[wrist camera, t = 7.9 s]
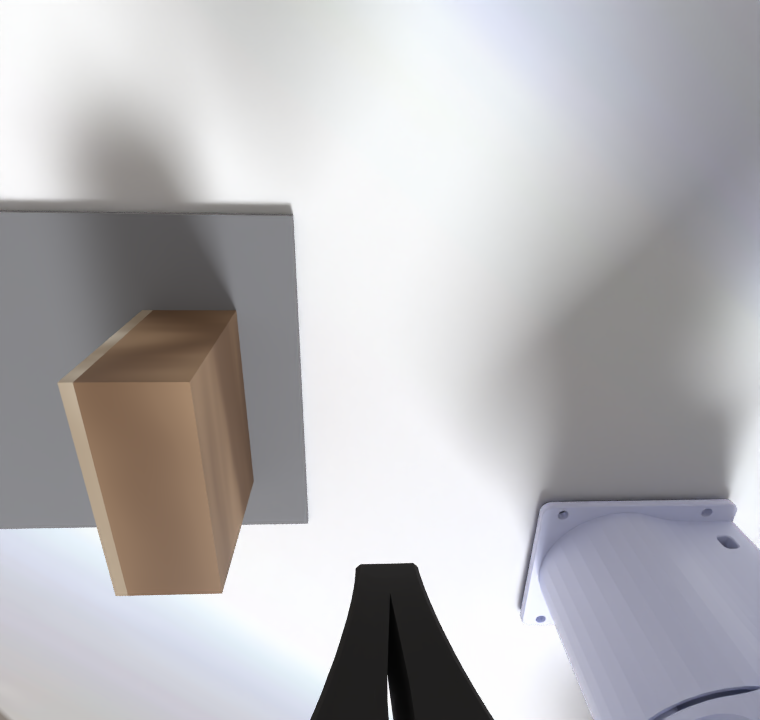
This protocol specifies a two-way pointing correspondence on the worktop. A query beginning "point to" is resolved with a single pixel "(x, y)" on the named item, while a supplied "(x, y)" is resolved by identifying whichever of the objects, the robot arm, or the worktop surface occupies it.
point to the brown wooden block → (164, 449)
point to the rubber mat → (116, 308)
